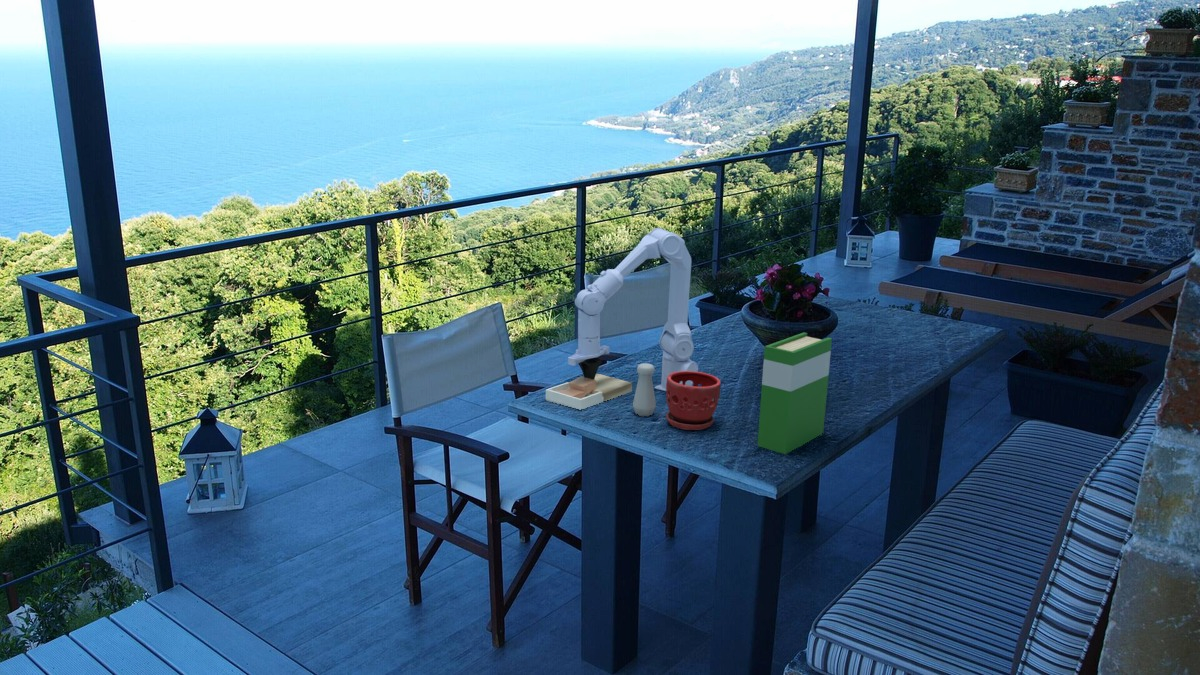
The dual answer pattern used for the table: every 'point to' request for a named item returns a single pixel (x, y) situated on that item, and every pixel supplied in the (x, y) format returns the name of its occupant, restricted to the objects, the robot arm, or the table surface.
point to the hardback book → (793, 392)
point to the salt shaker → (644, 391)
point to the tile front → (573, 393)
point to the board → (611, 387)
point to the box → (572, 398)
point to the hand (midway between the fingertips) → (589, 385)
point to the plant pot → (692, 399)
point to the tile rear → (583, 384)
